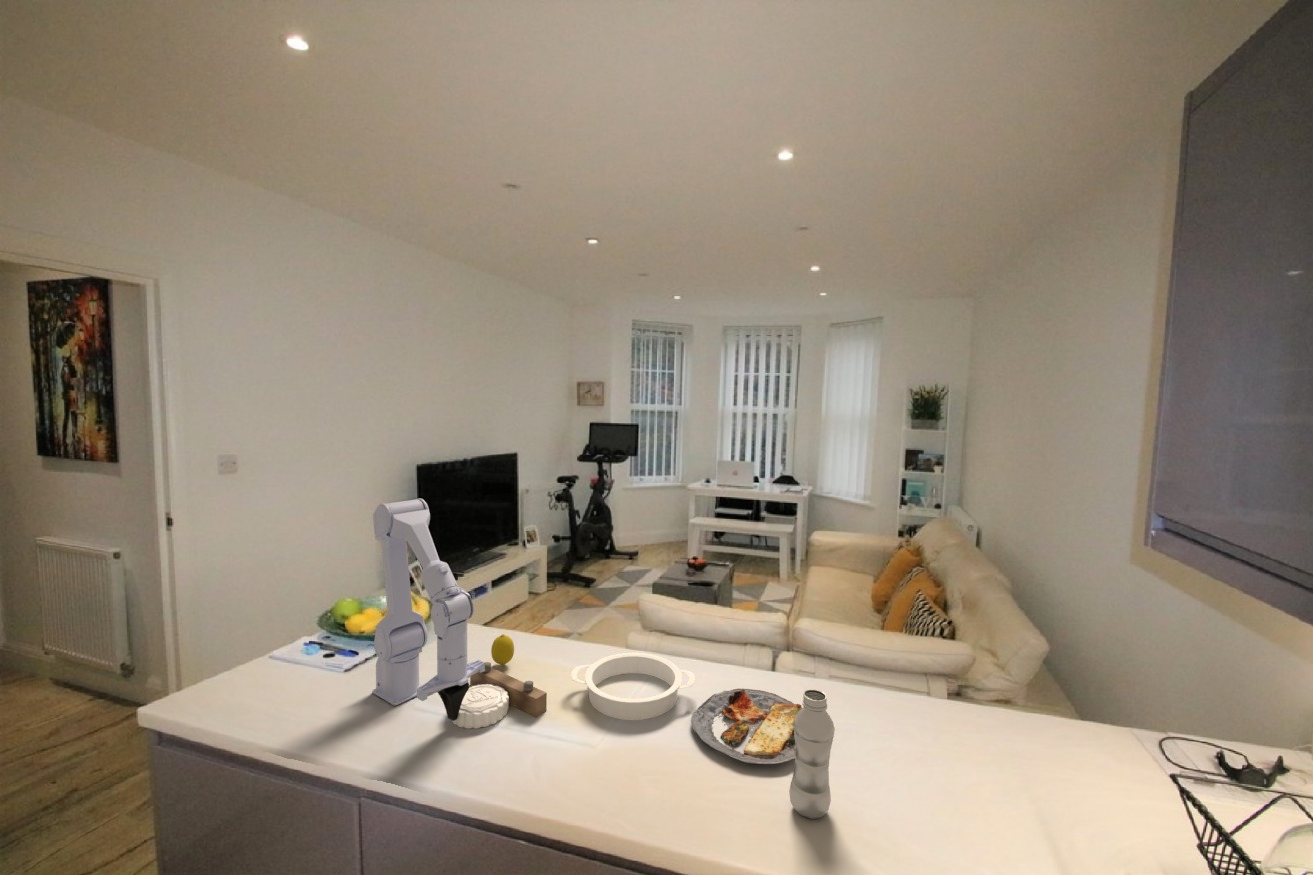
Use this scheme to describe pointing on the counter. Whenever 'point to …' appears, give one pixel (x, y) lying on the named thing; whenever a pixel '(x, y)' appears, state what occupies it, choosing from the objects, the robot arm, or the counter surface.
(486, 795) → the counter surface
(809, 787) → the plastic bottle
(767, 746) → the food plate
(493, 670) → the bar
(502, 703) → the mooncake
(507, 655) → the lemon
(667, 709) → the pot
